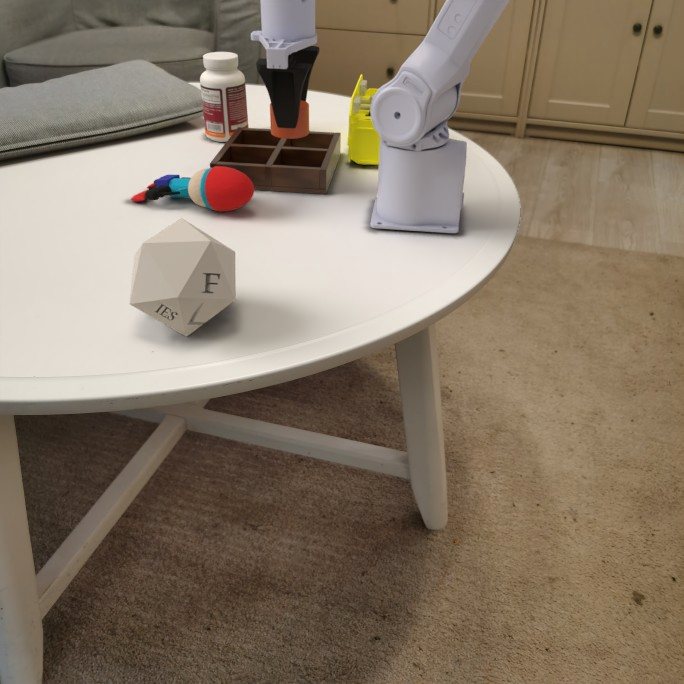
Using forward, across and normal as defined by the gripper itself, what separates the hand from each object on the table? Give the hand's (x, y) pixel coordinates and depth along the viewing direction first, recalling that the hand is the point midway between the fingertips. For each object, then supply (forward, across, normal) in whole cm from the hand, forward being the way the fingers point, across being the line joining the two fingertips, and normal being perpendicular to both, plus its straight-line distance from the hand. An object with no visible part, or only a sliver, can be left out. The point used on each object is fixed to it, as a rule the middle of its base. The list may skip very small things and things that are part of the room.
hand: (290, 120), depth 81 cm
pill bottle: (+9, -19, -13) cm, 24 cm away
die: (+9, +30, -4) cm, 31 cm away
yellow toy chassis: (+9, -16, +8) cm, 20 cm away
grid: (+8, -6, -3) cm, 11 cm away
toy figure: (+9, +6, -10) cm, 14 cm away
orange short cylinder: (+1, 0, 0) cm, 1 cm away
